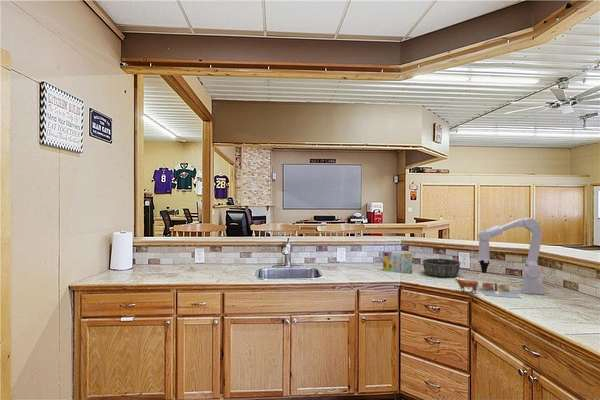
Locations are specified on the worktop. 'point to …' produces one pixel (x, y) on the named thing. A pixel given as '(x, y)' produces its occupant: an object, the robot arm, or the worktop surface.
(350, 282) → the worktop surface
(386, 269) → the snack box
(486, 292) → the card
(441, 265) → the dark grey woven basket
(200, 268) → the worktop surface
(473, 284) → the bull figurine
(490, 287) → the fence hinged
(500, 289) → the fence fixed
